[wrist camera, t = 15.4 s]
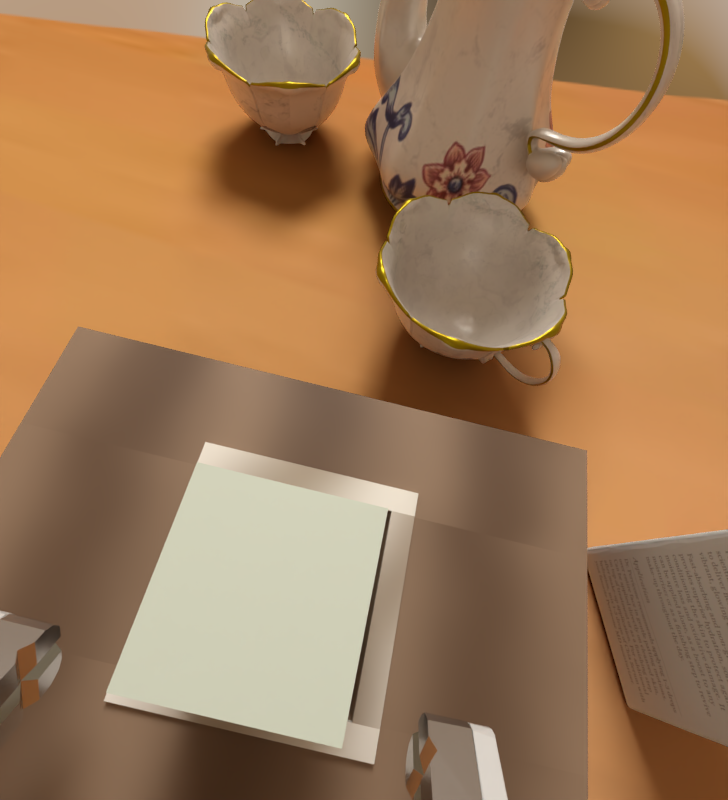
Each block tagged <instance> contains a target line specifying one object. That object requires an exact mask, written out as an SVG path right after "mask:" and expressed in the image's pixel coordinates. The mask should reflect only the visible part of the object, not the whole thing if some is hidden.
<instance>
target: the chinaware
mask: <svg viewBox="0 0 728 800" xmlns="http://www.w3.org/2000/svg"><path fill="white" fill-rule="evenodd" d="M573 1H574V0H438V2H437V4H436V7H435V9H434V12H433V14H432V17H431V19H430V21H429V23H428V26H427V19H426V9H427V0H381V1H380V6H379V12H378V17H377V24H376V33H375V45H374V67H375V74H376V79H377V84H378V87H379V91H380V94H381V99H380V100H379V102H378V103H377V104H376V105H375V107H374V108H373V110H372V111H371V113H370V115H369V117H368V119H367V121H366V124H365V136H366V139H367V142H368V144H369V147H370V149H371V151H372V153H373V155H374V158H375V160H376V163H377V165H378V168H379V171H380V174H381V175H380V183H381V188H382V191H383V194H384V196H385V198H386V200H387V201H388V203H389V204H390V205H391V207H392V208H393V209H394V210H395V211H396V213H395V215H394V216H393V219H392V221H391V224H390V228H389V231H388V234H387V237H386V238H387V241H385V242H384V244H383V245H382V247H381V249H380V251H379V254H378V262H377V267H376V276H377V279H378V281H379V283H380V284H381V285H382V286H383V287H384V288H385V290H386V292H387V293H388V295H389V296H390V298H391V299H392V300H393V304H394V307H395V310H396V313H397V315H398V317H399V319H400V321H401V323H402V325H403V326H404V328H405V329H406V330H407V332H408V333H409V334H410V335H411V337H412V338H414V340H416V341H417V342H418V343H419V344H420V347H421V348H423V347H425V348H427V349H428V350H430V351H432V352H434V353H437V354H439V355H442V356H445V357H449V358H453V359H478V360H479V361H480V362H481V363H486V362H487V361H488V360H491V359H492V358H493V356H495V357H496V359H497V360H498V361H499V362H500V364H501V365H502V366H503V367H504V368H505V369H506V371H507V372H508V373H510V374H511V375H512V376H513V377H514V378H515V379H517V380H518V381H520V382H522V383H525V384H528V385H532V386H540V385H544V384H547V383H548V382H550V381H551V380H552V379H553V378H554V377H555V376H556V375H557V373H558V371H559V368H560V354H559V351H558V350H557V348H556V347H555V345H554V344H553V343H552V342H551V341H550V340H549V339H552V338H553V337H555V336H556V335H558V334H559V332H560V330H561V328H562V324H563V322H564V320H565V318H566V315H567V309H566V303H565V300H564V299H562V298H564V297H565V296H566V294H567V291H568V288H569V285H570V282H571V279H572V275H573V268H572V262H571V253H570V251H569V250H568V249H567V248H566V247H565V246H564V245H563V244H562V243H561V242H560V240H559V239H558V238H557V237H555V236H554V235H552V234H549V233H546V232H543V231H540V230H538V229H536V228H533V229H531V230H530V231H528V229H529V226H530V224H529V222H528V221H527V220H526V218H525V217H524V215H523V213H522V212H521V209H523V208H524V207H525V206H526V205H527V203H528V202H529V200H530V198H531V195H532V193H533V190H534V188H535V186H536V184H537V182H538V181H540V182H550V181H553V180H555V179H557V178H558V177H560V176H561V175H562V174H563V173H564V172H565V170H566V167H567V166H568V165H569V163H570V161H571V158H572V156H571V153H579V154H584V153H592V152H597V151H600V150H603V149H606V148H608V147H610V146H612V145H614V144H616V143H618V142H620V141H621V140H623V139H624V138H626V137H627V136H629V135H630V134H631V133H633V132H634V131H635V130H636V129H637V128H638V127H639V126H640V125H642V124H643V122H644V121H645V120H646V119H647V118H648V117H649V116H650V115H651V113H652V112H653V111H654V110H655V108H656V107H657V105H658V104H659V103H660V101H661V99H662V98H663V96H664V94H665V93H666V91H667V89H668V87H669V84H670V83H671V81H672V78H673V76H674V73H675V70H676V68H677V65H678V61H679V58H680V54H681V49H682V44H683V36H684V11H683V3H682V0H654V2H655V4H656V7H657V10H658V15H659V19H660V31H661V39H660V51H659V57H658V61H657V65H656V69H655V72H654V75H653V78H652V80H651V83H650V85H649V87H648V89H647V91H646V93H645V95H644V97H643V98H642V100H641V101H640V103H639V104H638V106H637V107H636V108H635V110H634V111H633V112H632V113H631V114H630V115H629V116H628V117H627V118H626V119H625V120H624V121H623V122H622V123H621V124H619V125H618V126H617V127H615V128H614V129H612V130H611V131H609V132H607V133H605V134H602V135H600V136H596V137H592V138H574V137H569V136H565V135H562V134H560V133H557V132H555V131H553V126H552V115H551V88H552V80H553V74H554V68H555V63H556V58H557V54H558V49H559V45H560V41H561V37H562V33H563V29H564V26H565V23H566V20H567V17H568V14H569V12H570V9H571V6H572V4H573ZM582 1H583V3H584V4H585V5H586V6H587V7H588V8H589V9H592V10H599V9H601V8H603V7H605V6H606V5H607V4H608V3H609V1H610V0H582ZM205 30H206V40H207V42H206V44H205V50H206V53H207V57H208V60H209V62H210V63H211V65H212V66H213V67H214V68H215V69H217V70H220V71H222V73H223V75H224V77H225V79H226V81H227V84H228V86H229V89H230V91H231V93H232V94H233V96H234V98H235V100H236V101H237V103H238V104H239V105H240V107H241V108H242V109H243V110H244V112H245V113H246V114H247V115H248V116H249V117H250V118H251V119H252V120H254V121H255V122H256V123H258V124H259V125H260V126H262V127H260V129H264V130H266V131H267V133H268V134H269V135H270V136H271V137H272V138H273V139H274V140H275V141H276V145H279V144H280V143H286V144H295V143H301V144H303V145H306V143H305V140H306V139H307V138H308V137H309V136H310V135H311V133H312V131H313V130H316V129H317V128H316V127H318V126H319V125H321V124H322V123H323V122H324V121H325V120H326V119H327V118H328V117H329V116H330V114H331V113H332V112H333V110H334V109H335V107H336V105H337V104H338V102H339V99H340V97H341V94H342V91H343V88H344V84H345V81H346V78H347V76H349V75H350V74H353V73H355V72H356V71H357V69H358V67H359V65H360V56H361V52H360V50H359V49H358V48H357V47H356V46H357V41H356V30H355V27H354V24H353V23H352V21H351V19H350V17H349V16H348V14H347V13H344V12H341V11H339V10H337V9H334V8H327V9H318V10H316V11H315V13H313V8H312V7H311V6H309V5H308V4H307V3H306V2H304V1H303V0H252V1H250V2H249V3H247V4H246V11H245V10H244V8H243V6H240V5H234V4H231V3H221V4H218V5H216V6H212V7H210V9H209V11H208V15H207V17H206V19H205ZM554 146H555V147H554ZM570 152H571V153H570ZM529 345H533V346H532V349H533V350H537V349H539V348H541V347H542V345H543V346H544V347H545V348H546V350H547V352H548V354H549V357H550V362H551V370H550V373H549V375H548V376H546V377H544V378H534V377H530V376H527V375H525V374H523V373H522V372H520V371H519V370H518V369H516V368H515V367H514V366H513V365H512V364H511V363H510V362H509V361H508V360H507V359H506V358H505V357H504V356H503V355H502V354H501V353H500V352H502V351H504V350H511V349H516V348H520V347H525V346H529Z"/></svg>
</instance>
